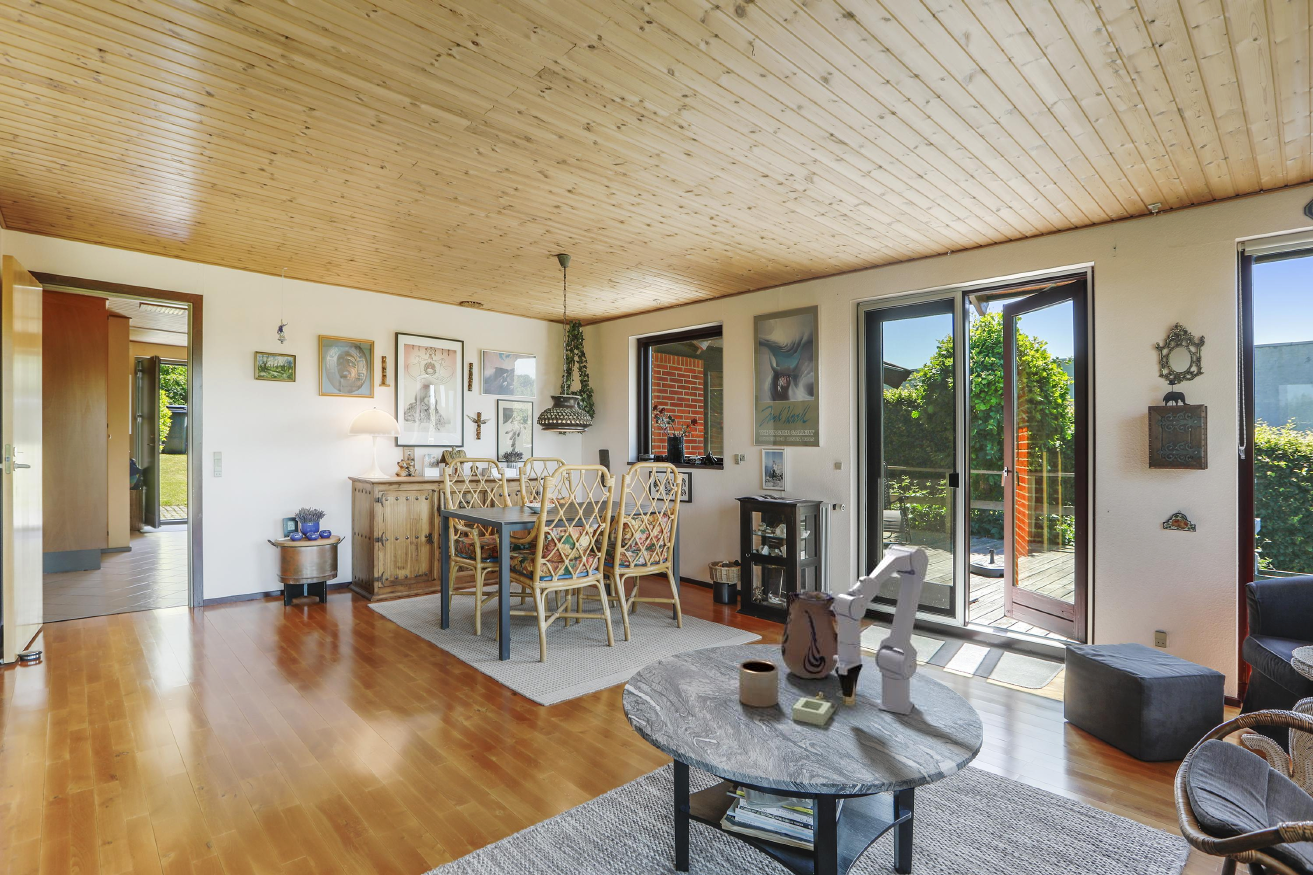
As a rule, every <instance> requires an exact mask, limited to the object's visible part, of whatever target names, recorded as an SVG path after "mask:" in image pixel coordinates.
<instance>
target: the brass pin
mask: <svg viewBox="0 0 1313 875" xmlns="http://www.w3.org/2000/svg"><path fill="white" fill-rule="evenodd" d="M842 704H843V705H845V706H852V707H853V706H855V705H856V690H855V682H854V688H853V694H852V697H851V698H850V697H845V696H843V695H842Z"/></svg>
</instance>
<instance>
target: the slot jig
mask: <svg viewBox="0 0 1313 875" xmlns="http://www.w3.org/2000/svg"><path fill="white" fill-rule="evenodd" d="M837 706H838V704H837V702H836V701H835V700H834V699H833V700H832V699H825V698H824V693H823V692H821V691H820V692H819V693H818V696H811V695H807V696H806V697H800V698H799V700H798V701H797V702H796V703H795V704H794V705H793V707H792V720H795V721H800V722H804V723H805V722H806V723H810V724H813V725H818V726H822V727H823V726H824V725H825V724H826V722H827V721H829V718H830V717H831V716H832V714H833V713H834V711H835V710H836V709H837Z"/></svg>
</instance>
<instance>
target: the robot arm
mask: <svg viewBox="0 0 1313 875" xmlns="http://www.w3.org/2000/svg"><path fill="white" fill-rule="evenodd" d="M929 561H930V559H929V557H928V555H927V552H926V550H924V549H923V548H921V547H912V546H906V545H901V544H900V545H898V544H895V543H892V544H890V545H889V546H888V547H887V549H885V550H884V552H883V558H882V560H880V562H879V564H878V565H877V566H876V567H875V568H874V569H873V571H872V572H871V573H870V574H869V576H868V575H863V576H860V577H859V578H858V580H857V581H856V582H855V583H854V584H852V586H851V587H850V588H849V589H848V590H847V591H846V592H845V593H839V594H838V595H836V597H834V598H835V600H834V604H832V605H831V607H832V610H833V613H834V614H835V620H836V622H837V633H838V655H834V656H833V660H837V665H838V666H835V668H834V671H835V674H836V675H837V678H838V680H839V684H840V689H841V694H842V697H843V696H845V697H850V698H851V697H852V694H853V688H854V682H855V691H856V689H857V684H858V681H859V680H858V679H859V676H860V673H861V670H862V668H863V666H864V664H863V663H862V658H861V655H862V654H861V652H862V651H861V649H862V647H861V637H862V636H861V635H862V634H861V631H862V630H861V629H862V628H861V622H862V621H861V620H862V618H864V616H865V615H866V611H867V608H868V606H869V604H870V603H871V601H873V600H874V598H875V597H876V596H877V595H878V594H879V592H880V586H881V585H882V584H883V583H884V582H885V581H887V579H889V578H890V577H891V576H892V575H893V574H896V575H898V577H899V578H900V580H901V585H900V589H899V594H898V598H897V601H896V605H895V606H896V607H895V612H894V614H893V615H894V616H893V620H892V625H891V629H890V633H889V636H887V637H886V638H883V639H882V640H881V641H880V644H879V647H878V649H877V650H876V652H875V655H874V661H875V666H876V667H877V668H878V669H879V673H881V701H880V702H879V704H878V705H877V709H879V710H882V711H887V712H890V713H891V712H892V713H897V714H903V715H907V716H908V715H910V713H911V711H912V709H913V706H914V703H915V702H914V701H912V700H910V699H911V698H910V697H911V686H910V685H911V678H913V676H914V675H915V673H916V671H917V668H918V663H917V662H918V661H917V658H918V657H917V656H918V650H917V649H916V648H915V646H914V645H913V644H912V642H911V640H912V634H913V629H914V624H915V621H916V620H915V619H916V617H917V612H918V607H919V603H920V597H921V593H922V589H923V584H924V580H925V579H926V575H927V571H928V565H929ZM896 649H897V650H896ZM900 650H901V651H900Z"/></svg>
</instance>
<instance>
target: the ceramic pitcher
mask: <svg viewBox="0 0 1313 875" xmlns="http://www.w3.org/2000/svg"><path fill="white" fill-rule="evenodd" d="M788 595H789V599H790V604H789V610H788V615H787V619H786V622H785V626H784V629H783V634H782V638H781V645H780V647H781V648H780V649H781V656H782V660H783V662H784V664H785V666H786V667H787V668H788V669H789V671H790V672H791V673H793V675H796V676H798V677H800V678H802V679H807V680H808V679H823V678H825V677H827V676H829V674H831V673H832V672H833V671H835V668H836V667H837V666H836V665H838V662H837V660H833V656H834V655H838V632H837V631H836V628H835V626H834V623H833V620H832V617H831V614H830V612H829V611H830V609H831V607H832V605H833V604H834V600H835V598H836V597H834V596H832V595H831V594H830V593H827V592H822V591H817V590H806V591H805V590H804V591H802V593H798V592H794V591H793V592H792V591H791V592H789V593H788Z"/></svg>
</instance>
